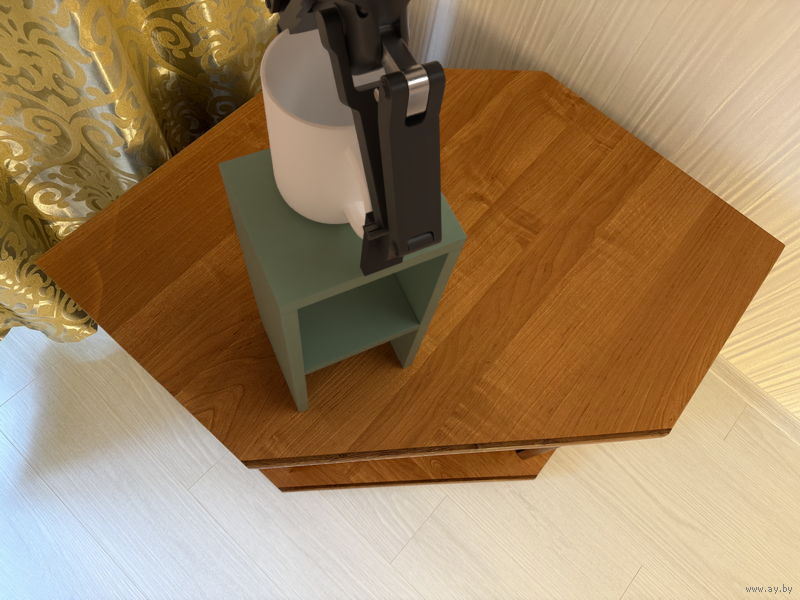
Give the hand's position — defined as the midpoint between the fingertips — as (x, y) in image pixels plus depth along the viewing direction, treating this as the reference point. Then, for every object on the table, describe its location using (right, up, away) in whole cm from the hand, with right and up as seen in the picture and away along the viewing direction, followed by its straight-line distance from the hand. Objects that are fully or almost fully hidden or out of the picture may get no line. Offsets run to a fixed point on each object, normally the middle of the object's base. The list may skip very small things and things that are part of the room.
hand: (342, 188), depth 41 cm
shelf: (-3, -13, +29) cm, 31 cm away
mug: (0, -1, +1) cm, 2 cm away
